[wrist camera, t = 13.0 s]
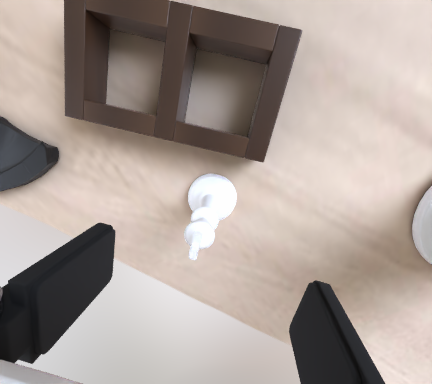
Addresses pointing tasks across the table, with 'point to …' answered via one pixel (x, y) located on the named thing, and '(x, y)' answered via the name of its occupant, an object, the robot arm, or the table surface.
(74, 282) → the robot arm
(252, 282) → the table surface
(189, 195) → the chess piece
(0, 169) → the curved wedge
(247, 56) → the rack
